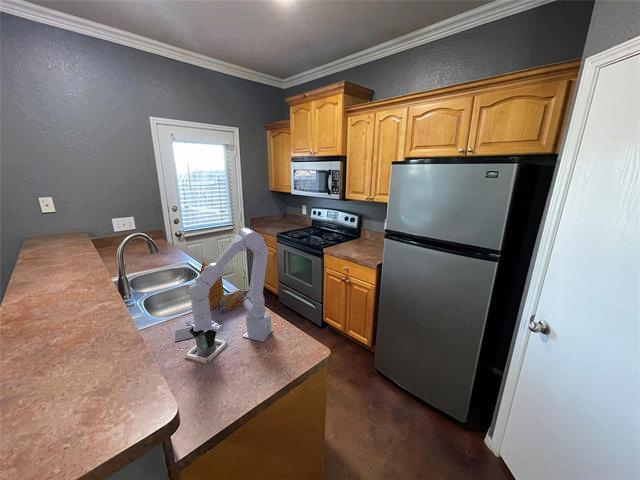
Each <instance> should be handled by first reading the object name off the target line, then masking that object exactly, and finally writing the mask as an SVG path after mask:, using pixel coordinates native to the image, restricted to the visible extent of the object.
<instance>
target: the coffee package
mask: <svg viewBox="0 0 640 480" xmlns="http://www.w3.org/2000/svg"><path fill="white" fill-rule="evenodd" d="M208 265H209V263H208V262H207V260H203V261H202V265H201V267H200V271H199V275H198V277H199V276H200V275H201V273H202V272H203V271H204V267H205V266H208ZM223 283H224V282H223V277H222V275H221V276H220V278H219V279H218V280H217V281H216V282H215V283H214V285H213V286H212V287H211V288H210V289H209V295H208V299H209V305H210V310H213V309H214V308H217V305H216V304H217V300H218V299H219V298H220V297H221V296H223V295H225V290H224V284H223Z"/></svg>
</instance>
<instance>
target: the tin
mask: <svg viewBox="0 0 640 480" xmlns="http://www.w3.org/2000/svg"><path fill="white" fill-rule="evenodd" d="M246 296H247V292H245V291H244V290H242V289H237V290H233V291H231V292H229V293H224V295H223V296H221V297H220V298H219V299H218V300H217V304H216V305H217V306H216V308H217V310H218V311H219V312H220V313H223V314H227V313H230V312H231V311H232V312H233V311H234V310H237V309H239V308H242V307H244V305H243V302H244V300H245V298H246Z"/></svg>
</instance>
